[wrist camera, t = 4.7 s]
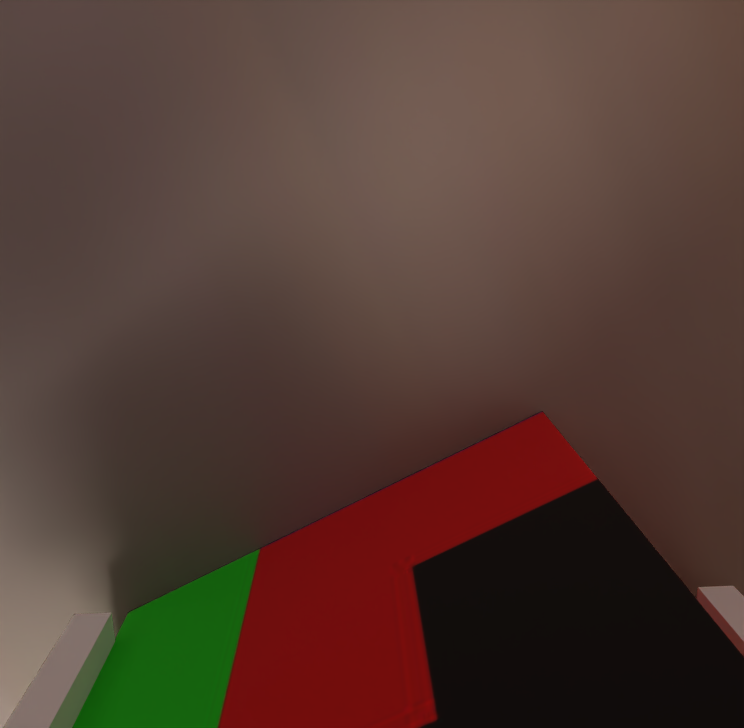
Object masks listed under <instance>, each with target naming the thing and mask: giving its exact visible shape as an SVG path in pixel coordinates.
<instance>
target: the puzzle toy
mask: <svg viewBox="0 0 744 728" xmlns="http://www.w3.org/2000/svg"><path fill="white" fill-rule="evenodd" d="M72 728H744V656H743V655H742V654H741V653H740V651H739V650H738V649H737V648H736V647H735V645H734V644H733V643H732V642H731V640H730V639H729V638H728V637H727V636H726V634H725V633H724V632H723V631H722V629H721V628H720V627H719V626H718V625H717V623H716V622H715V621H714V620H713V619H712V617H711V616H710V615H709V614H708V612H707V611H706V610H705V609H704V608H703V606H702V605H701V604H700V603H699V601H698V600H697V599H696V598H695V597H694V595H693V594H692V593H691V592H690V590H689V589H688V588H687V587H686V586H685V584H684V583H683V582H682V581H681V580H680V578H679V577H678V576H677V575H676V573H675V572H674V571H673V570H672V569H671V567H670V566H669V565H668V564H667V562H666V561H665V560H664V559H663V558H662V556H661V555H660V554H659V553H658V551H657V550H656V549H655V548H654V547H653V545H652V544H651V543H650V542H649V541H648V539H647V538H646V537H645V536H644V534H643V533H642V532H641V531H640V530H639V528H638V527H637V526H636V525H635V523H634V522H633V521H632V520H631V519H630V517H629V516H628V515H627V514H626V512H625V511H624V510H623V509H622V508H621V506H620V505H619V504H618V503H617V502H616V500H615V499H614V498H613V497H612V495H611V494H610V493H609V492H608V491H607V489H606V488H605V487H604V486H603V484H602V483H601V482H600V481H599V480H598V478H597V477H596V476H595V475H594V473H593V472H592V471H591V470H590V469H589V467H588V466H587V465H586V464H585V463H584V461H583V460H582V459H581V458H580V456H579V455H578V454H577V453H576V452H575V450H574V449H573V448H572V447H571V445H570V444H569V443H568V442H567V441H566V439H565V438H564V437H563V436H562V434H561V433H560V432H559V431H558V430H557V428H556V427H555V426H554V425H553V424H552V422H551V421H550V420H549V419H548V417H547V416H546V415H545V414H544V413H543V411H542V412H540V413H538V414H536V415H534V416H532V417H530V418H527V419H525V420H523V421H521V422H519V423H517V424H515V425H513V426H511V427H509V428H507V429H505V430H503V431H501V432H499V433H497V434H495V435H492V436H490V437H488V438H486V439H484V440H482V441H480V442H478V443H476V444H474V445H472V446H470V447H468V448H466V449H464V450H462V451H460V452H458V453H455V454H453V455H451V456H449V457H447V458H445V459H443V460H441V461H439V462H437V463H435V464H433V465H431V466H429V467H427V468H425V469H423V470H420V471H418V472H416V473H414V474H412V475H410V476H408V477H406V478H404V479H402V480H400V481H398V482H396V483H394V484H392V485H390V486H388V487H385V488H383V489H381V490H379V491H377V492H375V493H373V494H371V495H369V496H367V497H365V498H363V499H361V500H359V501H357V502H355V503H353V504H351V505H348V506H346V507H344V508H342V509H340V510H338V511H336V512H334V513H332V514H330V515H328V516H326V517H324V518H322V519H320V520H318V521H316V522H313V523H311V524H309V525H307V526H305V527H303V528H301V529H299V530H297V531H295V532H293V533H291V534H289V535H287V536H285V537H283V538H281V539H278V540H276V541H274V542H272V543H270V544H268V545H266V546H264V547H262V548H260V549H258V550H256V551H254V552H252V553H250V554H248V555H246V556H244V557H241V558H239V559H237V560H235V561H233V562H231V563H229V564H227V565H225V566H223V567H221V568H219V569H217V570H215V571H213V572H211V573H209V574H206V575H204V576H202V577H200V578H198V579H196V580H194V581H192V582H190V583H188V584H186V585H184V586H182V587H180V588H178V589H176V590H174V591H171V592H169V593H167V594H165V595H163V596H161V597H159V598H157V599H155V600H153V601H151V602H149V603H147V604H145V605H143V606H141V607H139V608H137V609H134V610H132V611H130V612H128V614H127V616H126V618H125V620H124V622H123V624H122V626H121V628H120V630H119V632H118V634H117V636H116V638H115V643H114V645H113V647H112V649H111V651H110V653H109V655H108V657H107V659H106V661H105V663H104V665H103V667H102V669H101V671H100V673H99V675H98V677H97V679H96V681H95V683H94V685H93V687H92V689H91V691H90V693H89V695H88V697H87V699H86V701H85V703H84V705H83V707H82V709H81V711H80V713H79V715H78V717H77V719H76V721H75V723H74V725H73V727H72Z"/></svg>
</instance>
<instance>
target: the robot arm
mask: <svg viewBox="0 0 744 728" xmlns="http://www.w3.org/2000/svg"><path fill="white" fill-rule="evenodd" d="M697 600H698V601H699V603H700V604H701V605H702V606H703V608H704V609H705V610H706V611H707V612H708V614H709V615H710V616H711V617H712V619H713V620H714V621H715V622H716V623H717V625H718V626H719V627H720V628H721V629H722V631H723V632H724V633H725V634H726V636H727V637H728V638H729V639H730V640H731V642H732V643H733V644H734V645H735V647H736V648H737V649H738V650H739V651H740V653H741V654H742V655H743V656H744V596H743V595H742V594H741V593H740V592H739V591H738V590H737V589H736V588H735V587H734V586H713V587H698V591H697ZM114 643H115V634H114V627H113V620H112V614H111V613H88V614H74V615H73V617H72V618H71V620H70V622H69V623H68V625H67V626H66V628H65V630H64V631H63V633H62V634H61V636H60V638H59V639H58V641H57V642H56V644H55V646H54V647H53V649H52V650H51V652H50V654H49V655H48V657H47V658H46V660H45V662H44V663H43V665H42V666H41V668H40V670H39V671H38V673H37V674H36V676H35V678H34V679H33V681H32V682H31V684H30V686H29V687H28V689H27V690H26V692H25V694H24V695H23V697H22V698H21V700H20V702H19V703H18V705H17V706H16V708H15V710H14V711H13V713H12V714H11V716H10V718H9V719H8V721H7V722H6V724H5V726H4V727H3V728H72V727H73V725H74V723H75V721H76V719H77V717H78V715H79V713H80V711H81V709H82V707H83V705H84V703H85V701H86V699H87V697H88V695H89V693H90V691H91V689H92V687H93V685H94V683H95V681H96V679H97V677H98V675H99V673H100V671H101V669H102V667H103V665H104V663H105V661H106V659H107V657H108V655H109V653H110V651H111V649H112V647H113V645H114Z"/></svg>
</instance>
